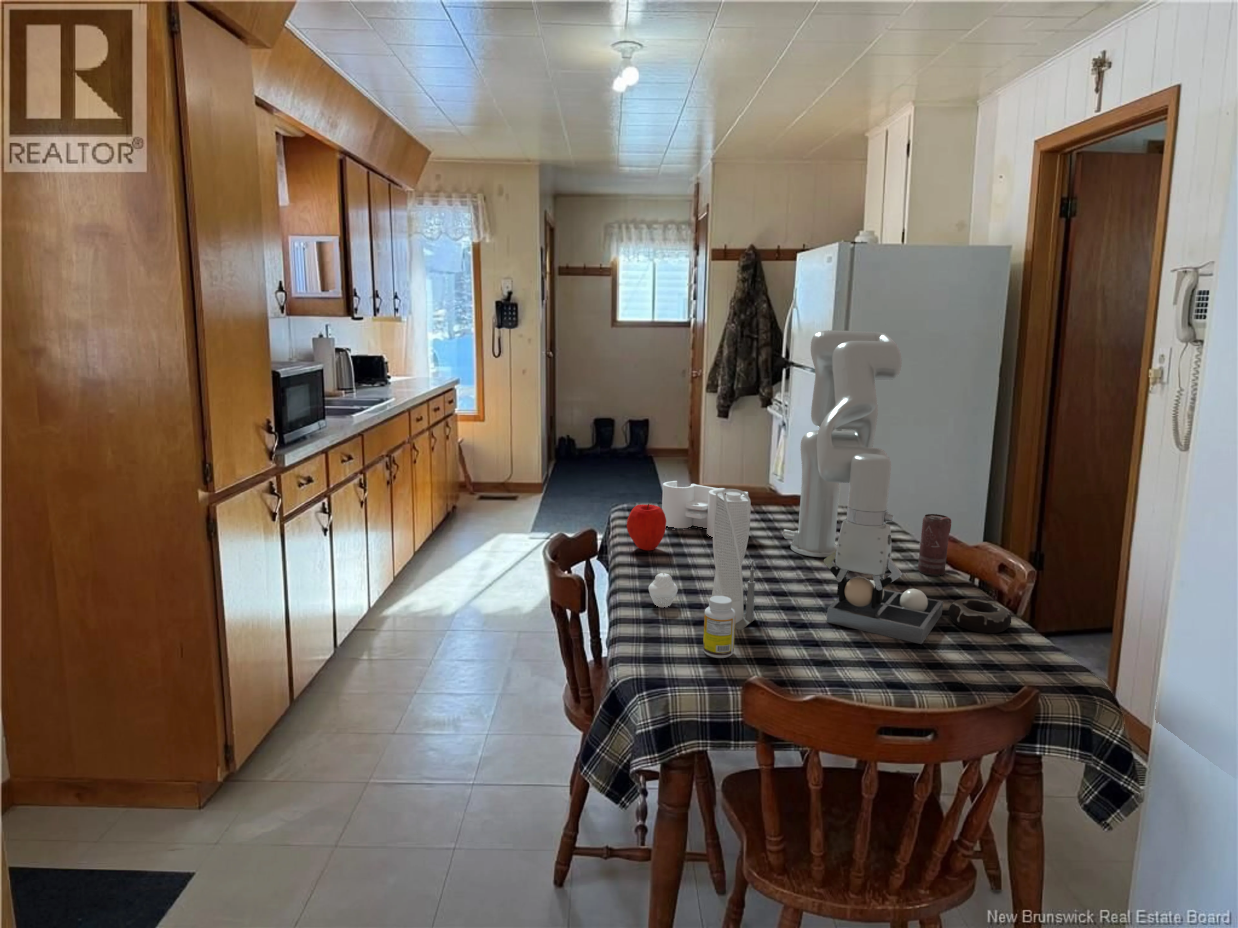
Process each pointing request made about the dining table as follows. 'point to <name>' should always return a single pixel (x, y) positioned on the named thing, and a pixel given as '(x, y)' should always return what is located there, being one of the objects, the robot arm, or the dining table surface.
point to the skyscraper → (732, 552)
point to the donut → (979, 615)
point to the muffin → (663, 590)
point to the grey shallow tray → (887, 617)
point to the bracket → (689, 505)
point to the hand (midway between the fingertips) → (858, 602)
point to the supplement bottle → (719, 627)
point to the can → (934, 544)
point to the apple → (646, 526)
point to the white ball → (914, 600)
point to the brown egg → (859, 591)
